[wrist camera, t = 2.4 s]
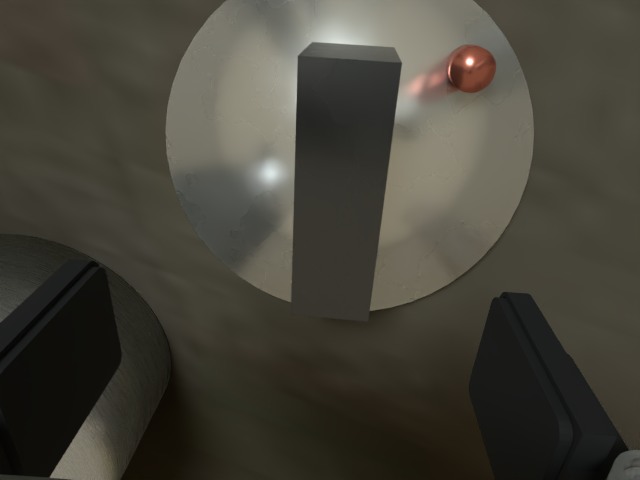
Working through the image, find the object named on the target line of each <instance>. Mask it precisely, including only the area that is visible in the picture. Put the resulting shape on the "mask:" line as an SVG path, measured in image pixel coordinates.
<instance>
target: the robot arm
mask: <svg viewBox="0 0 640 480" xmlns="http://www.w3.org/2000/svg"><path fill="white" fill-rule="evenodd" d="M121 358H122V351H121V346H120V341H119V336H118V331H117V325H116V320H115V315H114V310H113V305H112V300H111V295H110V289H109V284H108V279H107V274H106V271H105V269H104V268H103V267H100V266H99V264H98V263H97V262H96V261H91V260H78V259H70V260H68V261H67V262H65V263H64V264H63V265H62V266H61V267H60V268H59V269H58V270H57V271H56V272H55V273H54V274H52V275H51V276H50V277H49V278H48V279H47V280H46V281H45V282H44V283H43V284H42V285H41V286H39V287H38V288H37V289H36V290H35V291H34V292H33V293H32V294H31V295H30V296H29V297H28V298H27V299H25V300H24V301H23V302H22V303H21V304H20V305H19V306H18V307H17V308H16V309H15V310H14V311H12V312H11V313H10V314H9V315H8V316H7V317H6V318H5V319H4V320H3V321H2V322H1V323H0V480H71V479H59V478H49V477H50V476H51V474H52V473H53V471H54V470H55V468H56V466H57V465H58V463H59V462H60V460H61V458H62V457H63V455H64V454H65V452H66V450H67V449H68V447H69V446H70V444H71V442H72V441H73V439H74V438H75V436H76V434H77V433H78V431H79V430H80V428H81V427H82V425H83V423H84V422H85V420H86V419H87V417H88V415H89V414H90V412H91V411H92V409H93V407H94V406H95V404H96V403H97V401H98V399H99V398H100V396H101V395H102V393H103V392H104V390H105V388H106V387H107V385H108V384H109V382H110V380H111V379H112V377H113V376H114V374H115V372H116V371H117V369H118V367H119V366H120V363H121ZM469 392H470V398H471V401H472V404H473V407H474V411H475V414H476V417H477V421H478V424H479V427H480V430H481V434H482V437H483V440H484V444H485V447H486V450H487V453H488V457H489V460H490V463H491V467H492V470H493V473H494V476H495V480H640V451H639V450H629V449H628V448H627V446H626V444H625V443H624V441H623V440H622V438H621V436H620V435H619V433H618V432H617V430H616V428H615V427H614V425H613V424H612V422H611V420H610V419H609V417H608V415H607V414H606V412H605V411H604V409H603V407H602V406H601V404H600V403H599V401H598V399H597V398H596V396H595V395H594V393H593V391H592V390H591V388H590V386H589V385H588V383H587V382H586V380H585V378H584V377H583V375H582V374H581V372H580V370H579V369H578V367H577V366H576V364H575V362H574V361H573V359H572V358H571V357H570V356H569V354H567V353H566V352H565V350H564V349H563V347H562V345H561V344H560V342H559V340H558V339H557V337H556V336H555V334H554V332H553V331H552V329H551V327H550V326H549V324H548V323H547V321H546V319H545V318H544V316H543V314H542V313H541V311H540V310H539V308H538V306H537V305H536V303H535V301H534V300H533V298H532V297H531V295H530V294H525V293H512V292H503V293H502V294H501V296H500V298H498V297H495V298H494V299H493V300H492V303H491V306H490V310H489V313H488V317H487V321H486V324H485V328H484V331H483V335H482V339H481V342H480V346H479V349H478V353H477V357H476V360H475V364H474V367H473V371H472V374H471V378H470V383H469Z"/></svg>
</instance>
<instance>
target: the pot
mask: <svg viewBox="0 0 640 480" xmlns="http://www.w3.org/2000/svg"><path fill="white" fill-rule="evenodd" d="M70 259H78V260H91V261H96V260H94V259H92V258H91V257H89V256H87V255H85V254H83V253H81V252H79V251H76V250H74V249H72V248H69V247H67V246H64V245H61V244H59V243H56V242H52V241H49V240H45V239H41V238H37V237H31V236H24V235H11V234H0V323H1V322H2V321H3V320H4V319H5V318H6V317H7V316H8V315H9V314H10V313H11V312H12V311H14V310H15V309H16V308H17V307H18V306H19V305H20V304H21V303H22V302H23V301H24V300H25V299H27V298H28V297H29V296H30V295H31V294H32V293H33V292H34V291H35V290H36V289H37V288H38V287H39V286H41V285H42V284H43V283H44V282H45V281H46V280H47V279H48V278H49V277H50V276H51V275H52V274H54V273H55V272H56V271H57V270H58V269H59V268H60V267H61V266H62V265H63V264H64V263H65V262H67V261H68V260H70ZM96 262H97V261H96ZM97 263H98V264H99V266H100V267H103V268H104V269H105V271H106V274H107V279H108V284H109V289H110V295H111V300H112V305H113V310H114V315H115V320H116V325H117V331H118V336H119V341H120V346H121V351H122V358H121V363H120V366H119V367H118V369H117V371H116V372H115V374H114V376H113V377H112V379H111V380H110V382H109V384H108V385H107V387H106V388H105V390H104V392H103V393H102V395H101V396H100V398H99V399H98V401H97V403H96V404H95V406H94V407H93V409H92V411H91V412H90V414H89V415H88V417H87V419H86V420H85V422H84V423H83V425H82V427H81V428H80V430H79V431H78V433H77V434H76V436H75V438H74V439H73V441H72V442H71V444H70V446H69V447H68V449H67V450H66V452H65V454H64V455H63V457H62V458H61V460H60V462H59V463H58V465H57V466H56V468H55V470H54V471H53V473H52V474H51V476H50V477H49V478H59V479H71V480H121V478H122V476H123V474H124V472H125V470H126V468H127V466H128V464H129V462H130V460H131V458H132V456H133V454H134V452H135V450H136V448H137V446H138V444H139V442H140V440H141V438H142V436H143V434H144V432H145V430H146V428H147V426H148V424H149V422H150V420H151V418H152V416H153V414H154V412H155V410H156V408H157V406H158V404H159V402H160V400H161V398H162V396H163V394H164V392H165V390H166V388H167V385H168V382H169V379H170V373H171V354H170V350H169V345H168V341H167V339H166V336H165V333H164V331H163V329H162V327H161V325H160V323H159V321H158V319H157V318H156V316H155V314H154V313H153V312H152V310H151V309H150V307H149V306H148V305H147V303H146V302H145V301H144V300H143V299H142V298H141V296H140V295H139V294H138V293H137V292H136V291H135V290H134V289H133V288H132V287H131V286H130V285H129V284H127V283H126V282H125V281H124V280H123V279H122V278H121V277H119V276H118V275H117V274H115V273H114V272H113V271H111V270H110V269H109V268H107V267H106V266H104V265H102V264H101V263H99V262H97Z"/></svg>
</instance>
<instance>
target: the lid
mask: <svg viewBox="0 0 640 480" xmlns="http://www.w3.org/2000/svg"><path fill="white" fill-rule="evenodd" d="M533 141H534V126H533V111H532V105H531V100H530V96H529V91H528V86H527V83H526V80H525V77H524V75H523V72H522V69H521V67H520V64H519V61H518V59H517V57H516V55H515V54H514V52H513V50H512V48H511V46H510V45H509V43H508V41H507V39H506V38H505V36H504V34H503V33H502V32H501V31H500V29H499V28H498V27H497V25H496V24H495V23H494V22H493V20H492V19H491V18H490V17H489V15H488V14H487V13H486V12H485V11H484V10H483V9H482V8H481V7H480V6H478V5H477V4H476V3H475V2H474V1H473V0H226V1H225V2H224V3H223V4H222V5H221V6H220V7H219V8H218V9H217V10H216V11H215V12H214V13H213V14H212V15H211V16H210V17H209V18H208V20H207V21H206V22H205V24H204V25H203V26H202V28H201V29H200V30H199V32H198V33H197V34H196V36H195V37H194V38H193V40H192V42H191V44H190V46H189V47H188V49H187V51H186V53H185V55H184V57H183V58H182V60H181V63H180V66H179V68H178V71H177V74H176V76H175V79H174V81H173V85H172V89H171V94H170V98H169V103H168V108H167V120H166V149H167V157H168V163H169V168H170V174H171V177H172V181H173V184H174V187H175V190H176V193H177V196H178V198H179V201H180V203H181V205H182V207H183V209H184V212H185V214H186V216H187V217H188V219H189V221H190V222H191V224H192V226H193V227H194V229H195V231H196V232H197V234H198V235H199V236H200V238H201V239H202V240H203V241H204V243H205V244H206V245H207V247H208V248H209V249H210V250H211V251H212V252H213V253H214V254H215V255H216V256H217V257H218V258H219V259H220V260H221V261H222V262H223V263H224V264H225V265H226V266H227V267H229V268H230V269H231V270H232V271H233V272H235V273H236V274H237V275H238V276H240V277H241V278H243V279H244V280H246V281H247V282H249V283H250V284H252V285H253V286H255V287H257V288H259V289H261V290H263V291H265V292H267V293H269V294H271V295H273V296H275V297H277V298H280V299H283V300H285V301H288V302H291V315H301V316H311V317H322V318H332V319H342V320H353V321H363V322H368V320H369V313H370V311H373V310H379V309H385V308H391V307H395V306H398V305H402V304H405V303H409V302H412V301H414V300H417V299H419V298H422V297H424V296H427V295H429V294H431V293H433V292H435V291H437V290H439V289H441V288H442V287H444V286H446V285H448V284H449V283H451V282H452V281H454V280H455V279H457V278H458V277H459V276H461V275H462V274H464V273H465V272H466V271H468V270H469V269H470V268H471V267H472V266H473V265H474V264H475V263H477V262H478V261H479V260H480V259H481V258H482V257H483V256H484V255H485V254H486V253H487V251H488V250H489V249H490V248H491V247H492V246H493V245H494V244H495V242H496V241H497V240H498V238H499V237H500V235H501V234H502V233H503V231H504V230H505V228H506V227H507V225H508V224H509V222H510V220H511V218H512V216H513V214H514V212H515V210H516V209H517V207H518V205H519V203H520V200H521V197H522V194H523V191H524V189H525V186H526V183H527V180H528V175H529V171H530V166H531V161H532V154H533Z"/></svg>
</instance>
